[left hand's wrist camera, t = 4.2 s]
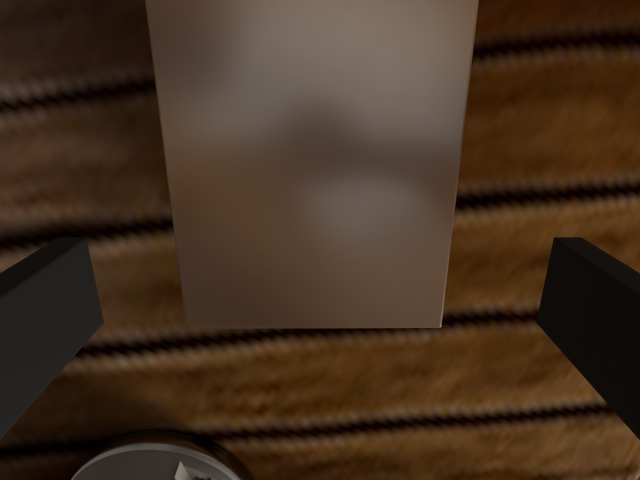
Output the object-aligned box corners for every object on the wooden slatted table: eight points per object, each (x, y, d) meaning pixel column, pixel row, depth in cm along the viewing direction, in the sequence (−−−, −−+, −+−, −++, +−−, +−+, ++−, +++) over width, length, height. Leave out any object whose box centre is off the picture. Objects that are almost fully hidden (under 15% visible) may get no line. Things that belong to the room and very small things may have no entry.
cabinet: (202, -116, 21) (108, -277, 11) (424, -116, 21) (511, -275, 12) (230, 244, 28) (185, 329, 18) (399, 243, 28) (441, 328, 18)
